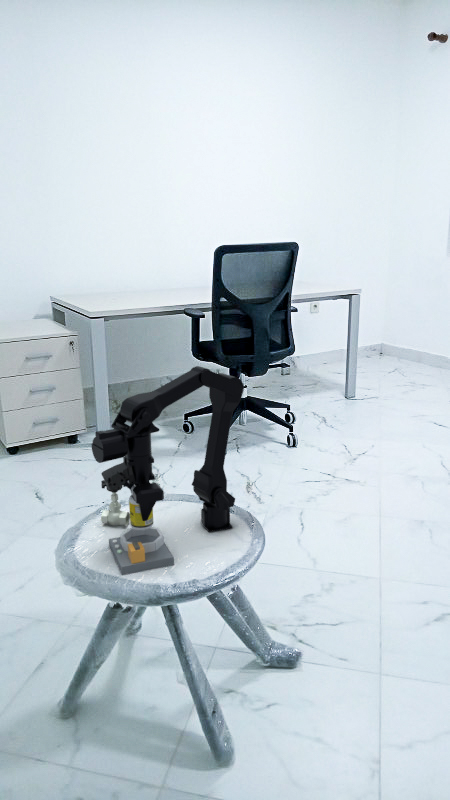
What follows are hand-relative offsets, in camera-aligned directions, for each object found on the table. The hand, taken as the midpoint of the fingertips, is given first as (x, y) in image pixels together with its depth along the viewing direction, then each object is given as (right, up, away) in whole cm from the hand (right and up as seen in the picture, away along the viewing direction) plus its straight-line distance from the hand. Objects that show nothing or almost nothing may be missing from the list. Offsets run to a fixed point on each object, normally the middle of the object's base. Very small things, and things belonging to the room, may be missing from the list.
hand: (141, 515), depth 147 cm
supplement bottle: (0, -3, +1) cm, 3 cm away
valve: (-9, -5, +16) cm, 19 cm away
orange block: (0, -9, -6) cm, 10 cm away
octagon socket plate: (0, -9, 0) cm, 9 cm away
